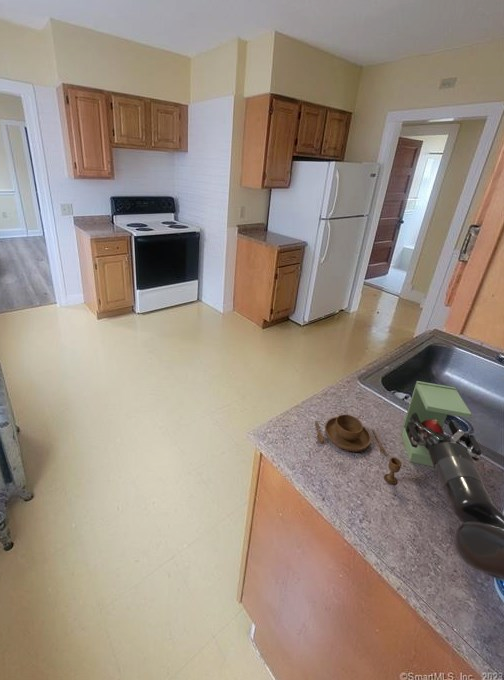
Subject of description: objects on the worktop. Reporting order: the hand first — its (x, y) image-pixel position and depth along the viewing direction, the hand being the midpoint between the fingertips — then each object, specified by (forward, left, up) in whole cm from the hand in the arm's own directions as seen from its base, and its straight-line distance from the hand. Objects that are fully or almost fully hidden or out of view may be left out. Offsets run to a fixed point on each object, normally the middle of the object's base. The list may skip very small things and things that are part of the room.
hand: (432, 419), depth 83 cm
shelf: (0, +1, -10) cm, 10 cm away
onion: (0, +2, -7) cm, 7 cm away
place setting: (+19, +4, -10) cm, 22 cm away
